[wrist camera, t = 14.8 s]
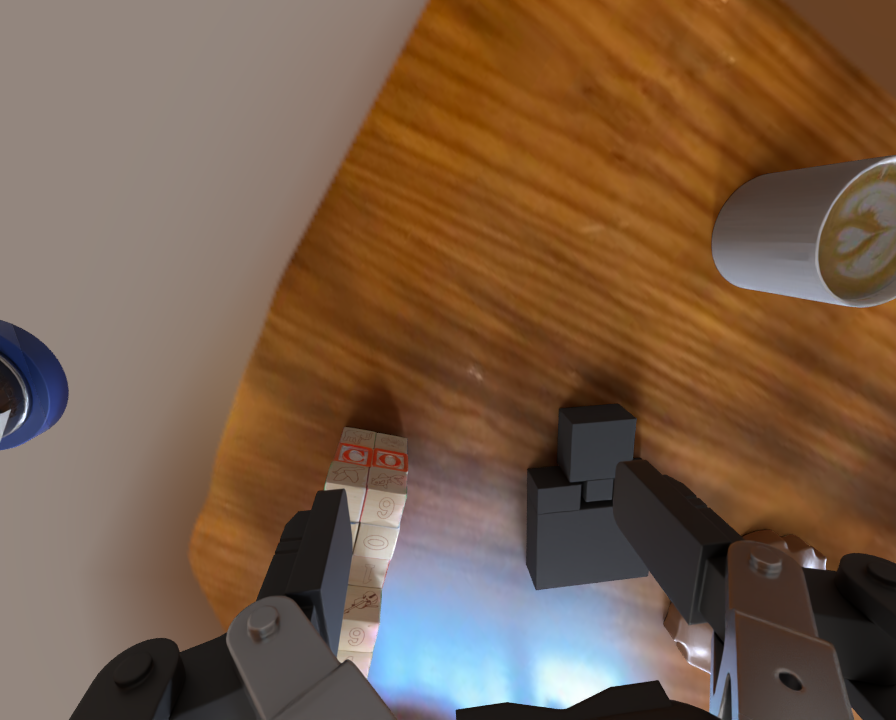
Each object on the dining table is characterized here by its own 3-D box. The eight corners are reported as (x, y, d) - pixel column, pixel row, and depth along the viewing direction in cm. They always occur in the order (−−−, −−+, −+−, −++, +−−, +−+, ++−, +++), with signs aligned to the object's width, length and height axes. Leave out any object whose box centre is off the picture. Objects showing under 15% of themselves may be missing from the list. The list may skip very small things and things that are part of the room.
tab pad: (556, 483, 44) (568, 504, 40) (558, 408, 41) (572, 424, 38) (612, 477, 44) (629, 497, 41) (618, 403, 42) (636, 418, 38)
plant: (727, 687, 56) (803, 795, 45) (640, 616, 50) (704, 720, 40) (852, 592, 53) (966, 683, 42) (775, 506, 48) (883, 586, 37)
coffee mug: (690, 260, 38) (786, 271, 29) (755, 151, 36) (883, 123, 26) (797, 320, 41) (916, 348, 31) (863, 222, 39) (1014, 221, 29)
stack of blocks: (342, 423, 39) (317, 506, 28) (408, 436, 40) (411, 521, 29) (304, 604, 45) (270, 736, 33) (363, 610, 46) (350, 741, 34)
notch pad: (526, 564, 46) (535, 590, 43) (527, 468, 43) (537, 488, 39) (630, 552, 47) (648, 576, 44) (640, 457, 44) (660, 476, 40)
